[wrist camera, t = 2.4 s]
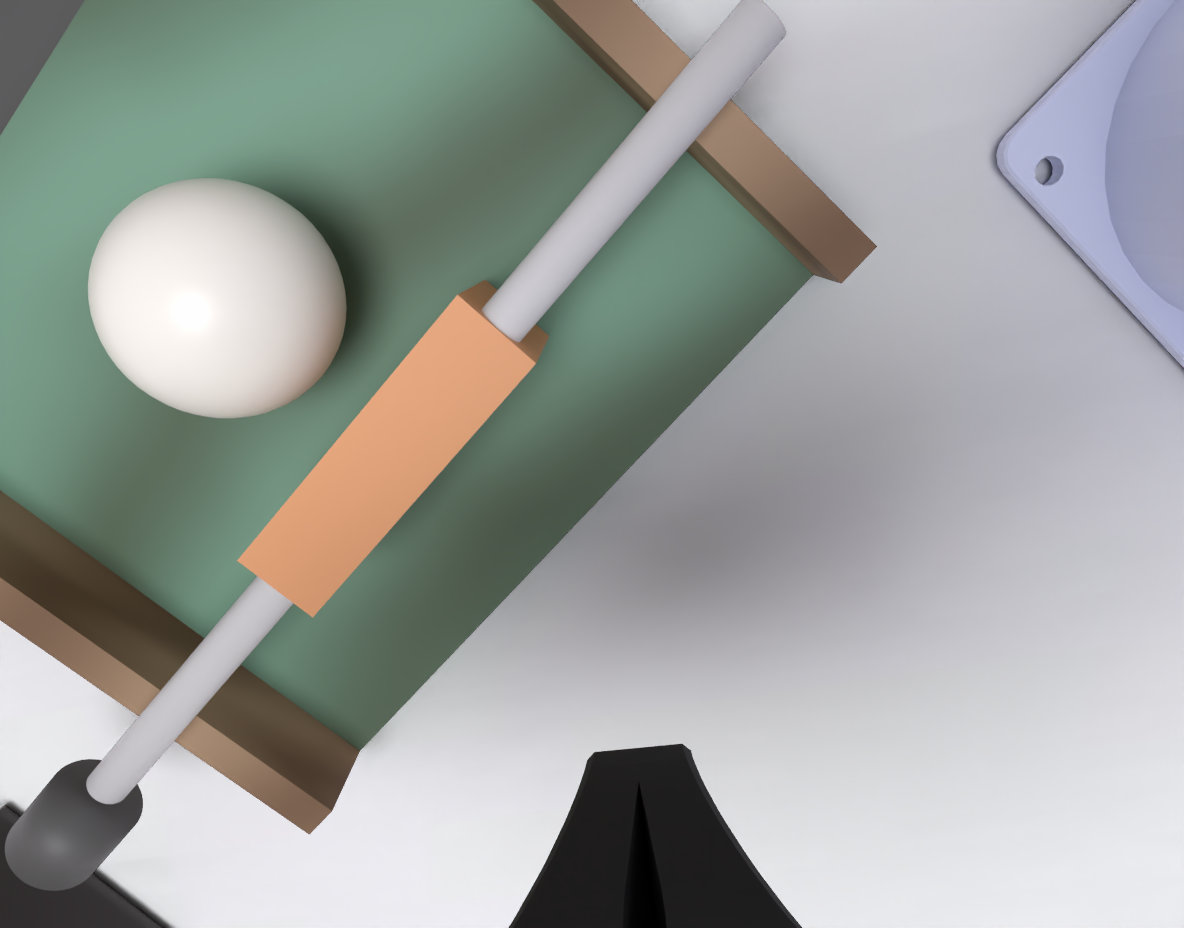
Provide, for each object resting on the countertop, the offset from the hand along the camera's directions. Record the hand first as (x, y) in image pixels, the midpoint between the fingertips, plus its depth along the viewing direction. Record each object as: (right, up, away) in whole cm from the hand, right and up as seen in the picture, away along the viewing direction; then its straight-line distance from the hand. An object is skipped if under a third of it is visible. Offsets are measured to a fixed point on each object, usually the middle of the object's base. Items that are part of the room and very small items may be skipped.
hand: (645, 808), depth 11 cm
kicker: (-5, +5, +5) cm, 9 cm away
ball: (-7, +8, +3) cm, 11 cm away
